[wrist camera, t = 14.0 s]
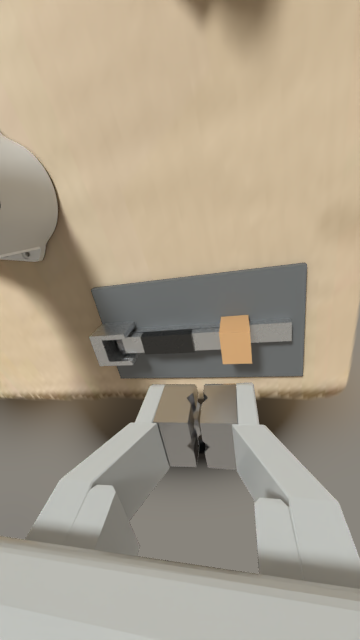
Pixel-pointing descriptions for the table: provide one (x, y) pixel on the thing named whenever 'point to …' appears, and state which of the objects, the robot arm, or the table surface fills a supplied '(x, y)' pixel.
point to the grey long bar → (110, 332)
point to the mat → (213, 318)
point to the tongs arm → (170, 341)
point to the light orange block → (235, 340)
